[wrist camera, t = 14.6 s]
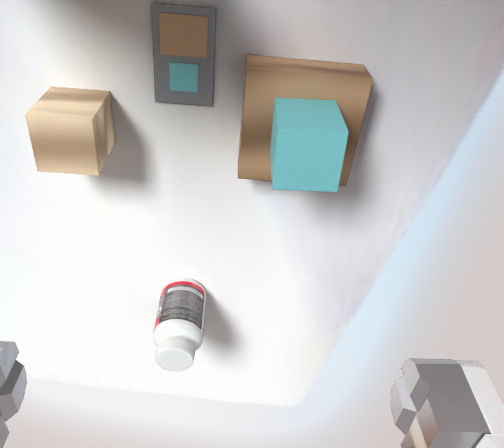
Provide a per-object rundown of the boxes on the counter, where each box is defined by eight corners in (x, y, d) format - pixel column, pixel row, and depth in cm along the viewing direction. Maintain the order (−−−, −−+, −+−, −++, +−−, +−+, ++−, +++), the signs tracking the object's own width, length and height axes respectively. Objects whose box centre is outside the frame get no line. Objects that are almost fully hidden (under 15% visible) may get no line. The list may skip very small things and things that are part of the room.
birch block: (51, 86, 40) (25, 114, 35) (109, 91, 40) (91, 119, 35) (60, 138, 43) (37, 171, 38) (114, 142, 43) (98, 175, 38)
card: (151, 2, 36) (151, 3, 35) (215, 8, 36) (215, 9, 36) (155, 100, 40) (155, 102, 40) (212, 104, 41) (211, 106, 40)
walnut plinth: (247, 52, 39) (247, 68, 35) (362, 63, 39) (373, 79, 36) (238, 156, 45) (237, 178, 41) (338, 164, 45) (345, 186, 42)
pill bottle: (155, 280, 54) (140, 348, 46) (199, 272, 53) (191, 340, 45) (170, 310, 57) (158, 379, 49) (211, 303, 56) (206, 371, 48)
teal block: (274, 97, 37) (278, 128, 32) (335, 100, 37) (348, 131, 32) (269, 153, 40) (272, 189, 35) (326, 155, 40) (337, 191, 35)
